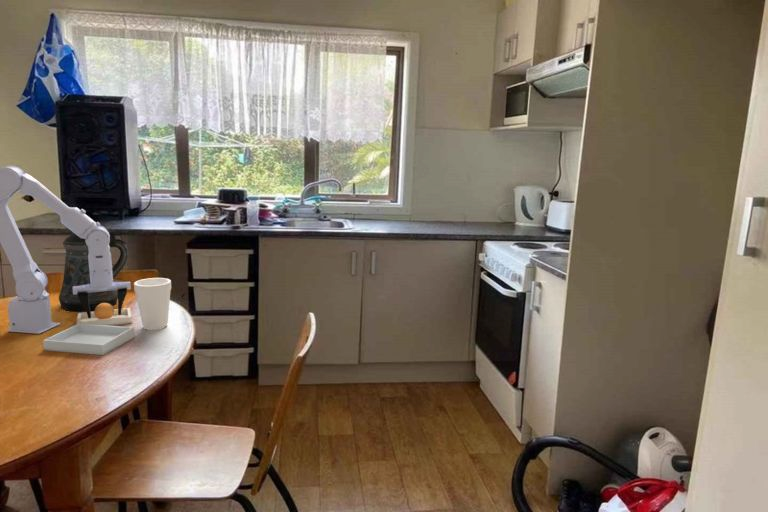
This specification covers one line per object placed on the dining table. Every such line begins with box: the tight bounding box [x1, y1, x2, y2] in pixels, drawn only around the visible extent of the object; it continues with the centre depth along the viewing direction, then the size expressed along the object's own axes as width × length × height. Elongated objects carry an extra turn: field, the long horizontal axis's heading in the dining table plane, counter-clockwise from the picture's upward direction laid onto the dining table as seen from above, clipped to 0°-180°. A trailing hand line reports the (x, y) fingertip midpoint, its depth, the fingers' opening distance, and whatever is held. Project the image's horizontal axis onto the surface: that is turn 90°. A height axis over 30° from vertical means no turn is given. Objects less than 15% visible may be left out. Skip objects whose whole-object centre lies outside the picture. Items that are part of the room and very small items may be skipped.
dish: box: [76, 307, 133, 326], centre depth 154 cm, size 14×9×2 cm
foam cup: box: [133, 277, 172, 331], centre depth 150 cm, size 10×9×13 cm
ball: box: [93, 303, 114, 319], centre depth 153 cm, size 5×5×5 cm
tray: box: [42, 323, 135, 356], centre depth 137 cm, size 16×13×3 cm
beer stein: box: [58, 229, 129, 313], centre depth 167 cm, size 16×19×25 cm
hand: (104, 315), depth 153 cm, fingers open, 7 cm apart
